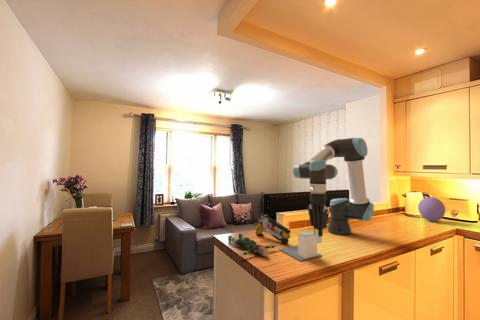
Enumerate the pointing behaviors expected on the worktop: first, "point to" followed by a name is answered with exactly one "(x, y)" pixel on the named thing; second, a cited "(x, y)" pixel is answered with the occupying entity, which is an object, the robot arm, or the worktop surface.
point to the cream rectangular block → (307, 244)
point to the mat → (296, 253)
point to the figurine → (250, 245)
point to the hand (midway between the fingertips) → (318, 242)
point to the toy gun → (273, 229)
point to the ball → (431, 208)
